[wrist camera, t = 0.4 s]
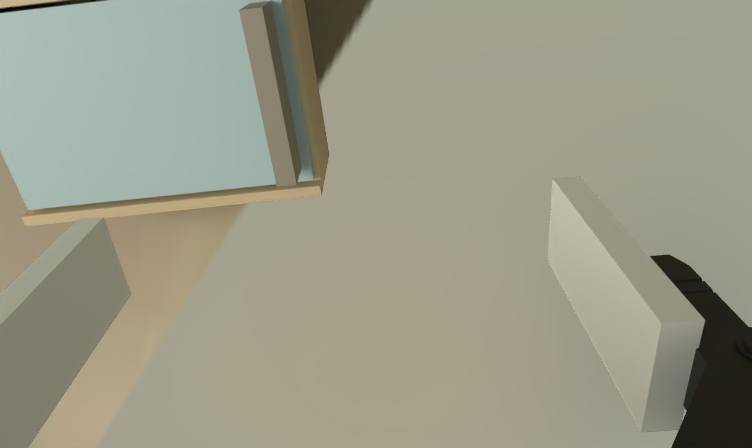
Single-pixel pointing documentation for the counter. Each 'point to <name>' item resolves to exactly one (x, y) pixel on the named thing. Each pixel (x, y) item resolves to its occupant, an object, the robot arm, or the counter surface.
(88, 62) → the lid
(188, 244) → the counter surface
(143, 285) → the counter surface
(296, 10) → the wooden box
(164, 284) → the counter surface
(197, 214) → the counter surface
